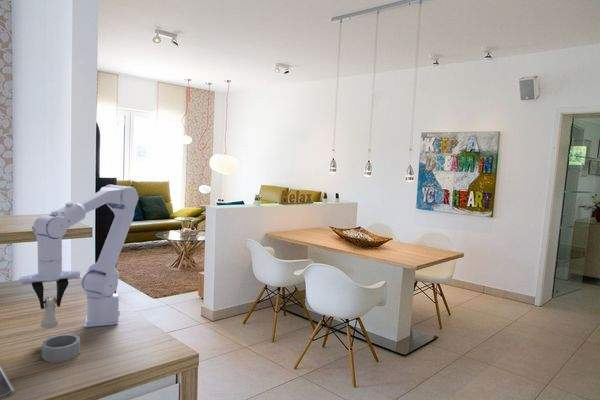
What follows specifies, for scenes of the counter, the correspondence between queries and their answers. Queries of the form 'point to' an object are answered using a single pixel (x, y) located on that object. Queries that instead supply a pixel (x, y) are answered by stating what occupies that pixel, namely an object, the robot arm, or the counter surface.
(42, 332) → the counter surface
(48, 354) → the grey faceted bowl
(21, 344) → the counter surface
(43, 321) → the rook chess piece
